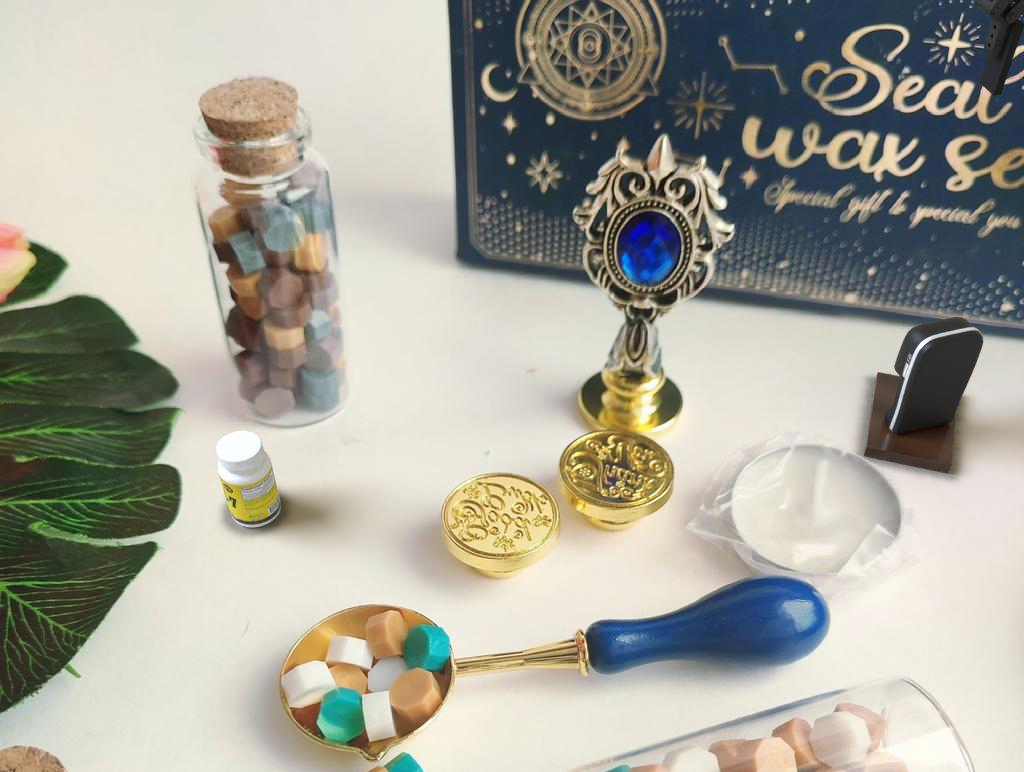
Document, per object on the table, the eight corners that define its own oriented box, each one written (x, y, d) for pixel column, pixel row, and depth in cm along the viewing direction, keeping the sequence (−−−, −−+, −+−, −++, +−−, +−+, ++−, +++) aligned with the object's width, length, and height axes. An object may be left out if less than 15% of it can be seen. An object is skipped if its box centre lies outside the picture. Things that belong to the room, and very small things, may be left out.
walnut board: (874, 380, 113) (877, 371, 112) (954, 395, 111) (957, 386, 110) (863, 456, 105) (866, 447, 104) (948, 473, 104) (951, 464, 103)
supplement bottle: (225, 501, 102) (206, 435, 96) (273, 486, 103) (258, 421, 97) (238, 535, 99) (219, 470, 93) (288, 519, 100) (272, 454, 94)
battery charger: (933, 399, 109) (967, 306, 101) (955, 423, 107) (991, 330, 98) (872, 413, 108) (902, 320, 99) (893, 438, 105) (924, 345, 97)
